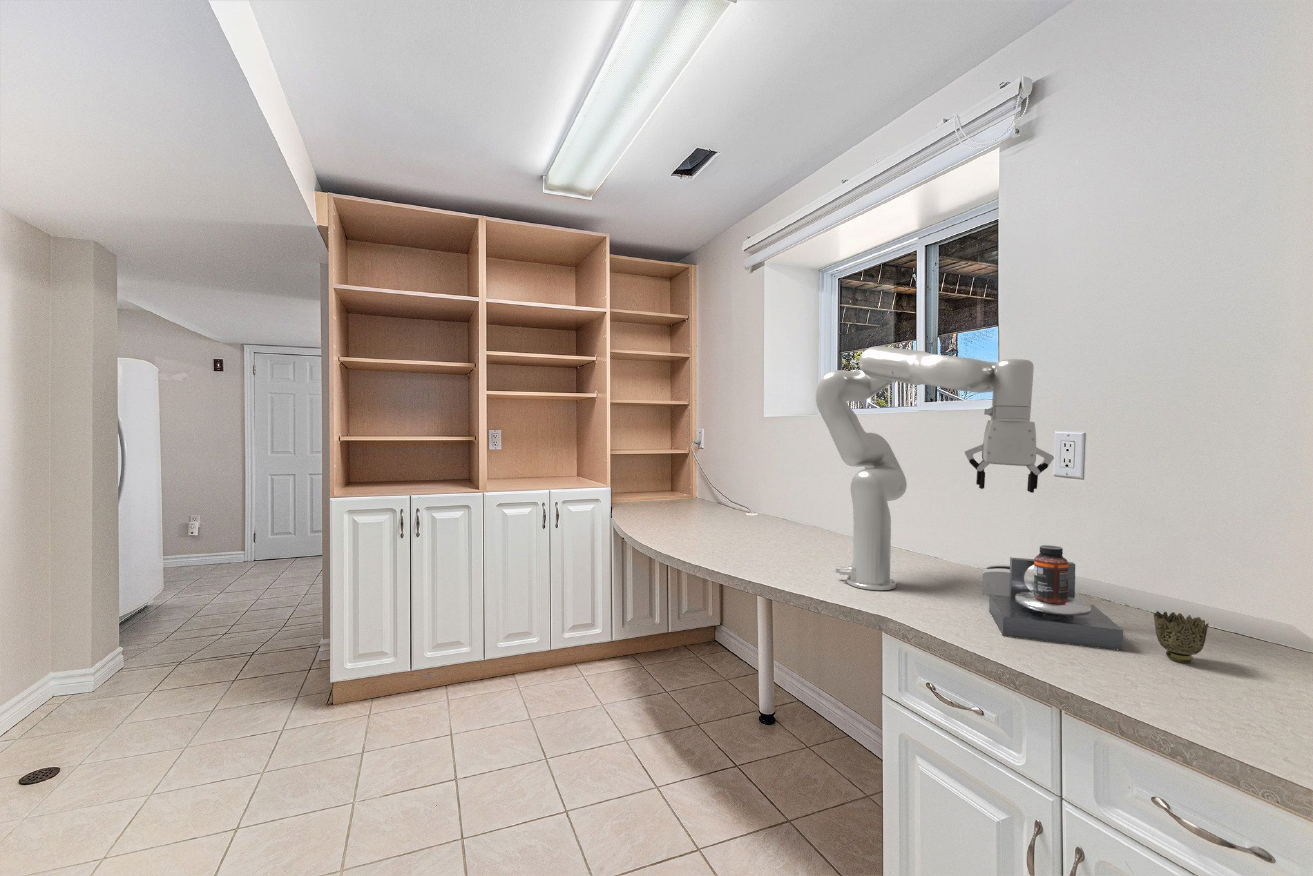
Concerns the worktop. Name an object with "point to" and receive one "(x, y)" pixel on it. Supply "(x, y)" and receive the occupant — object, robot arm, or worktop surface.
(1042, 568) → the supplement bottle
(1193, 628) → the cup
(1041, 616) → the dial scale
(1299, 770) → the worktop surface
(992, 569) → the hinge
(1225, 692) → the worktop surface
